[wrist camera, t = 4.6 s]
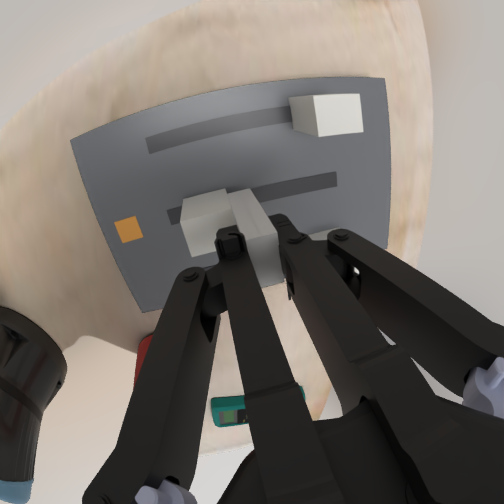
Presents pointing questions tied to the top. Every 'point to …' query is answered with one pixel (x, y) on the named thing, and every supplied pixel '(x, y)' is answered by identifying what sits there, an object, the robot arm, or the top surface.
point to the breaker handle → (205, 220)
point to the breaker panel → (238, 169)
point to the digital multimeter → (231, 410)
